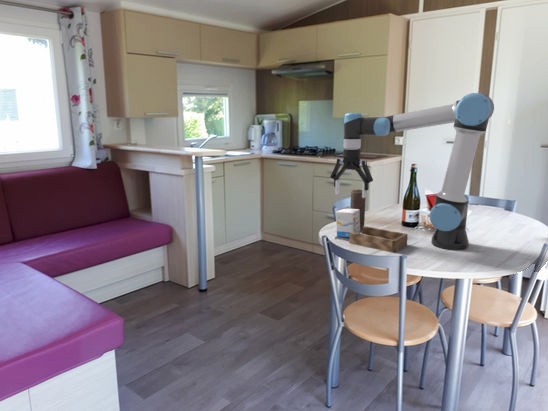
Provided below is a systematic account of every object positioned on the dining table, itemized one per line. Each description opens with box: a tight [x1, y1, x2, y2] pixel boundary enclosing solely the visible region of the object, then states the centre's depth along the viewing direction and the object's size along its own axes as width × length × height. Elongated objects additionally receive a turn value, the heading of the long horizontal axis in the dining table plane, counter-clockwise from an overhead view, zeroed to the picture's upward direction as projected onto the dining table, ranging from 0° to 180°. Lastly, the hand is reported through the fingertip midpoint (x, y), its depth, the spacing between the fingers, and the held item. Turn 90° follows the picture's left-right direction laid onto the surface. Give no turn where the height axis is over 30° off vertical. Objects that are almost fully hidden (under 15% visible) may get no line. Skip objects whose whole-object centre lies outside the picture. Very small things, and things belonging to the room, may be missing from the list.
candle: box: [349, 189, 367, 231], centre depth 214 cm, size 8×7×20 cm
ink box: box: [335, 208, 361, 237], centre depth 203 cm, size 9×8×12 cm
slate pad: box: [334, 235, 350, 242], centre depth 204 cm, size 8×10×1 cm
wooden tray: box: [348, 225, 409, 254], centre depth 195 cm, size 21×13×5 cm, turn 52°
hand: (350, 195), depth 200 cm, fingers open, 13 cm apart
